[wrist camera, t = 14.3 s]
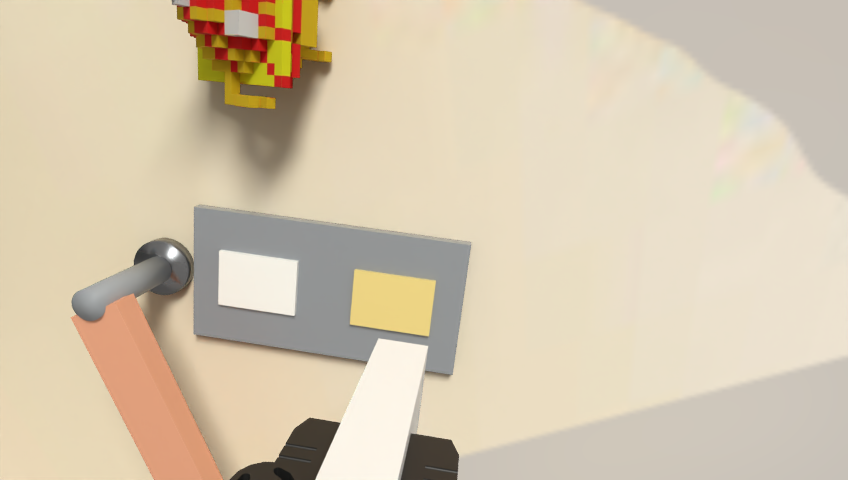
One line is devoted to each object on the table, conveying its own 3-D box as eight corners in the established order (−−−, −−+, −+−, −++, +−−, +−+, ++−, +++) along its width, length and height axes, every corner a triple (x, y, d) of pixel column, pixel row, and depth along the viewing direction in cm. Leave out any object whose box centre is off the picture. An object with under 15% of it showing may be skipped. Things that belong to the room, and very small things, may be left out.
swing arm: (133, 263, 47) (49, 301, 38) (172, 250, 46) (95, 286, 37) (247, 502, 52) (197, 586, 43) (283, 494, 52) (240, 578, 42)
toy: (349, 113, 42) (162, 104, 30) (269, 103, 47) (83, 93, 35) (359, -80, 38) (152, -178, 26) (271, -66, 43) (65, -143, 32)
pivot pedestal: (142, 286, 49) (134, 290, 48) (141, 234, 48) (133, 237, 47) (194, 294, 49) (187, 298, 48) (194, 242, 48) (187, 245, 46)
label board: (199, 329, 50) (191, 336, 48) (200, 204, 47) (191, 207, 45) (453, 369, 48) (452, 377, 47) (471, 242, 45) (470, 246, 44)
